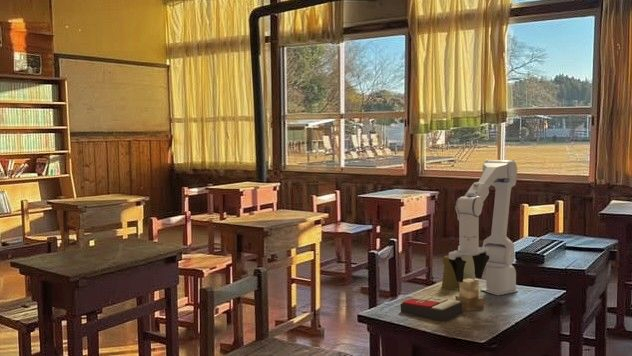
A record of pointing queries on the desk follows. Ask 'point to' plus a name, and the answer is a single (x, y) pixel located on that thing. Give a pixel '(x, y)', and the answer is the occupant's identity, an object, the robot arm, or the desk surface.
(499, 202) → the robot arm
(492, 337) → the desk surface
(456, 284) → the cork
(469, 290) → the beech block
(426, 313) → the calculator
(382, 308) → the desk surface
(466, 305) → the walnut base
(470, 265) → the box
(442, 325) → the desk surface
